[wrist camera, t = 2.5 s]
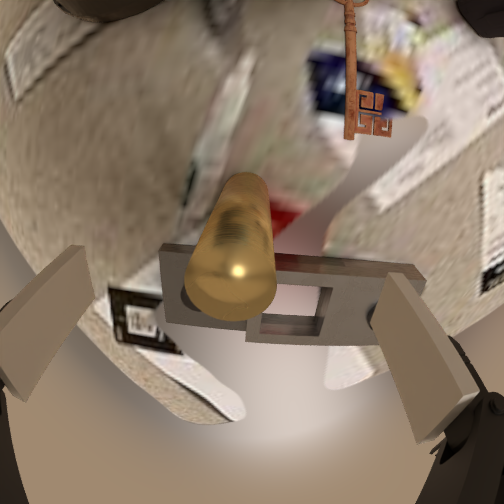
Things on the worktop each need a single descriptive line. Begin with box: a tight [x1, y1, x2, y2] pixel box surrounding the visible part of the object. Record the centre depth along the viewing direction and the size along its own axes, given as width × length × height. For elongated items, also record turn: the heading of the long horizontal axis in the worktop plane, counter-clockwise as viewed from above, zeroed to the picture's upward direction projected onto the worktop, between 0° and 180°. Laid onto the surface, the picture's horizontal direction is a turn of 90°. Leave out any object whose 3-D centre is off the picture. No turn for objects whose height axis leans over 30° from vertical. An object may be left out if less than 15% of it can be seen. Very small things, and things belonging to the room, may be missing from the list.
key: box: [335, 0, 393, 140], centre depth 17 cm, size 6×1×15 cm
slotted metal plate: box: [159, 244, 426, 346], centre depth 25 cm, size 8×24×4 cm, turn 85°
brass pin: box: [184, 172, 277, 321], centre depth 17 cm, size 4×4×13 cm
